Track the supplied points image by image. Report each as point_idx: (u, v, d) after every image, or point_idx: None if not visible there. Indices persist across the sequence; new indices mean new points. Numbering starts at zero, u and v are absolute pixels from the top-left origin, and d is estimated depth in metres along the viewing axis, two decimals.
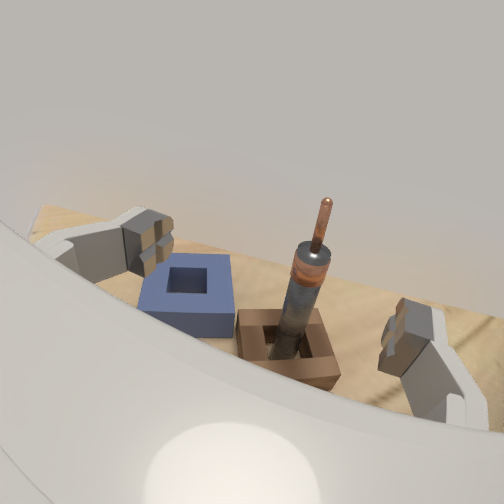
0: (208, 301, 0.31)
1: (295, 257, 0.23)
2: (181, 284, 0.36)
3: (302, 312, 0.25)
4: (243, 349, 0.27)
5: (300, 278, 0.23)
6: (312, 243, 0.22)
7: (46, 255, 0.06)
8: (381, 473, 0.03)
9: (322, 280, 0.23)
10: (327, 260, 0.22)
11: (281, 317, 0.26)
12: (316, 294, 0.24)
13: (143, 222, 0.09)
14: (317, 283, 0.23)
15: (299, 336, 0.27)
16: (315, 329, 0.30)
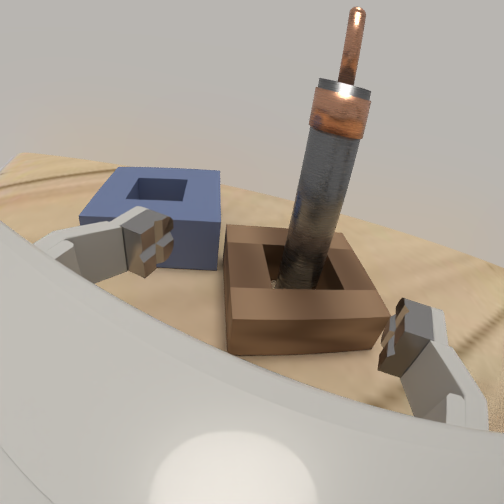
0: (182, 208, 0.21)
1: (316, 91, 0.13)
2: None
3: (331, 191, 0.14)
4: (230, 271, 0.17)
5: (326, 120, 0.13)
6: (341, 69, 0.12)
7: (46, 255, 0.06)
8: (381, 473, 0.03)
9: (361, 130, 0.13)
10: (367, 93, 0.12)
11: (294, 211, 0.16)
12: (352, 159, 0.14)
13: (143, 222, 0.09)
14: (353, 131, 0.13)
15: (324, 248, 0.16)
16: (342, 255, 0.20)
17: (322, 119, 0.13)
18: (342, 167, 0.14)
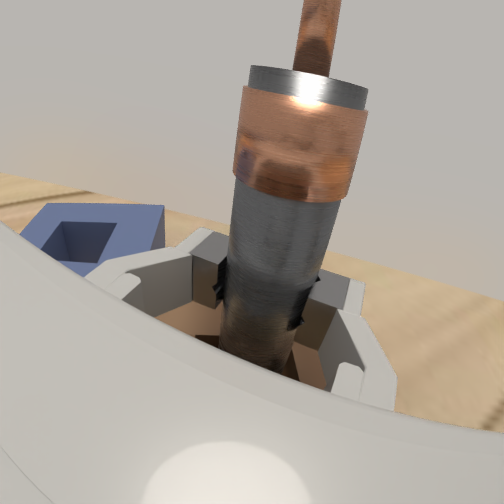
0: None
1: (242, 95, 0.06)
2: (83, 254, 0.19)
3: (277, 303, 0.08)
4: None
5: (260, 163, 0.06)
6: (299, 43, 0.05)
7: (46, 255, 0.06)
8: (381, 473, 0.03)
9: (344, 180, 0.06)
10: (360, 93, 0.05)
11: (221, 317, 0.09)
12: (323, 240, 0.07)
13: (215, 249, 0.09)
14: (326, 186, 0.06)
15: (273, 371, 0.10)
16: None
17: (251, 161, 0.06)
18: (299, 260, 0.07)
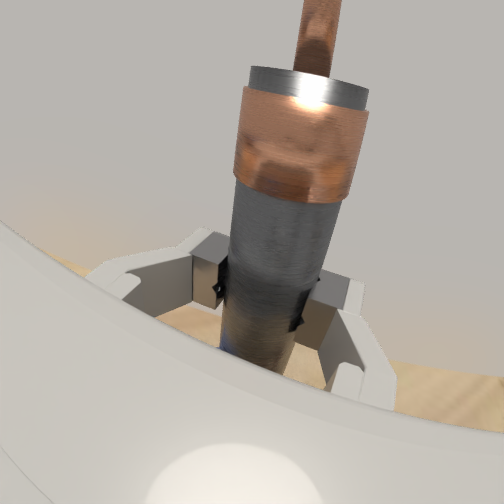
0: None
1: (243, 95, 0.06)
2: None
3: (278, 304, 0.08)
4: None
5: (261, 164, 0.06)
6: (300, 43, 0.05)
7: (46, 255, 0.06)
8: (381, 473, 0.03)
9: (345, 181, 0.06)
10: (360, 94, 0.05)
11: (222, 319, 0.09)
12: (324, 241, 0.07)
13: (215, 248, 0.09)
14: (326, 187, 0.06)
15: None
16: None
17: (251, 162, 0.06)
18: (300, 262, 0.07)
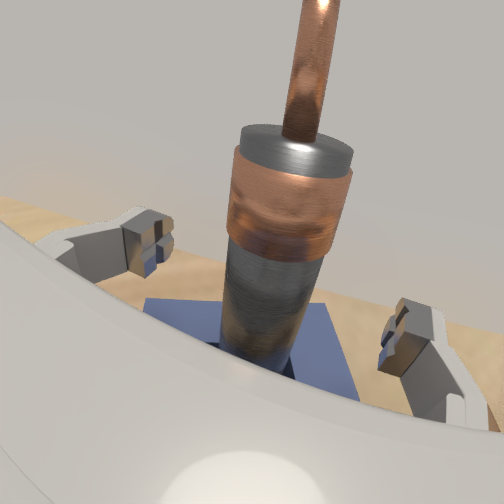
0: None
1: (234, 159, 0.07)
2: None
3: (267, 340, 0.08)
4: None
5: (250, 229, 0.07)
6: (288, 106, 0.06)
7: (46, 255, 0.06)
8: (381, 473, 0.03)
9: (327, 240, 0.07)
10: (343, 161, 0.06)
11: (219, 346, 0.10)
12: (308, 288, 0.08)
13: (143, 222, 0.09)
14: (308, 248, 0.07)
15: None
16: None
17: (241, 226, 0.07)
18: (286, 307, 0.08)
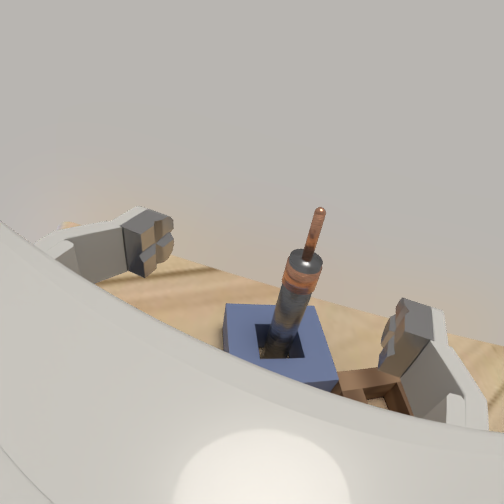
0: (308, 367, 0.26)
1: (287, 264, 0.23)
2: (262, 340, 0.32)
3: (293, 319, 0.25)
4: None
5: (291, 285, 0.23)
6: (304, 251, 0.22)
7: (46, 255, 0.06)
8: (381, 473, 0.03)
9: (313, 288, 0.23)
10: (318, 268, 0.22)
11: (272, 323, 0.27)
12: (307, 301, 0.24)
13: (143, 222, 0.09)
14: (307, 290, 0.23)
15: (289, 342, 0.27)
16: None
17: (289, 284, 0.23)
18: (300, 307, 0.24)
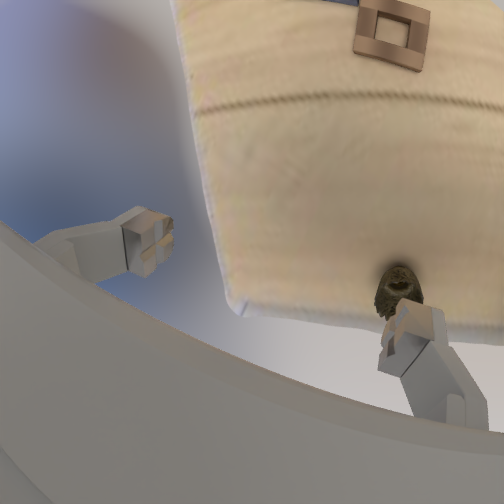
0: None
1: None
2: None
3: None
4: (357, 25, 0.27)
5: None
6: None
7: (46, 255, 0.06)
8: (381, 473, 0.03)
9: None
10: None
11: None
12: None
13: (143, 222, 0.09)
14: None
15: None
16: (419, 28, 0.24)
17: None
18: None
